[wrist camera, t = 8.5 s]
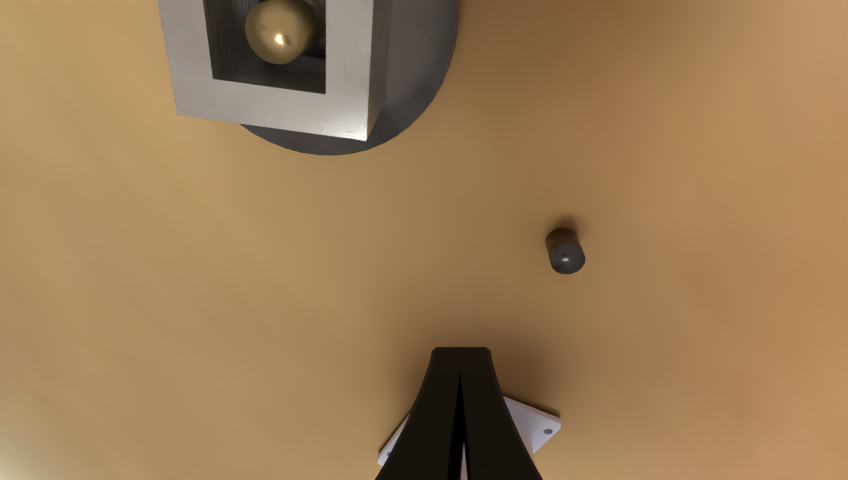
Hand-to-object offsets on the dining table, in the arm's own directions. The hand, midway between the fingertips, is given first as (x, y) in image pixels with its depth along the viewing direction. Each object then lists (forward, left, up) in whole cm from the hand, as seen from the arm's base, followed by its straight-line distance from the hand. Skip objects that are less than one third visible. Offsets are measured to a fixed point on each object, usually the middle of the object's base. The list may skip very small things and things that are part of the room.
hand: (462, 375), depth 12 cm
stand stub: (0, -5, -10) cm, 11 cm away
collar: (+4, +8, -9) cm, 13 cm away
